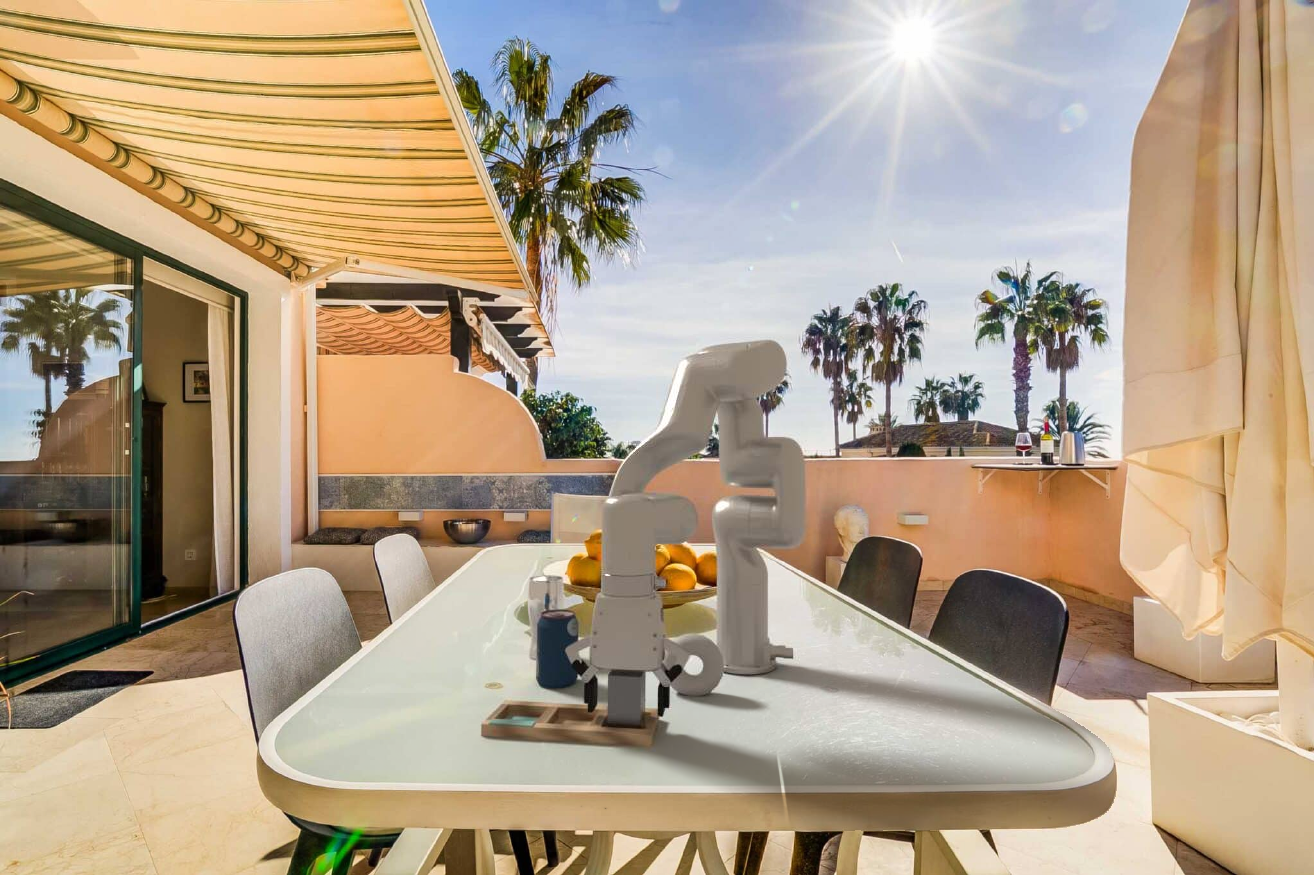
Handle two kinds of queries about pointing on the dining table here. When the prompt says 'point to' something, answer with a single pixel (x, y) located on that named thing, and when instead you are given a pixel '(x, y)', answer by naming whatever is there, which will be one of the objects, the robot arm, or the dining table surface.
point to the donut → (711, 665)
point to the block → (626, 699)
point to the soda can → (555, 648)
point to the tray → (565, 724)
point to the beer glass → (543, 602)
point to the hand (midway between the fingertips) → (626, 710)
